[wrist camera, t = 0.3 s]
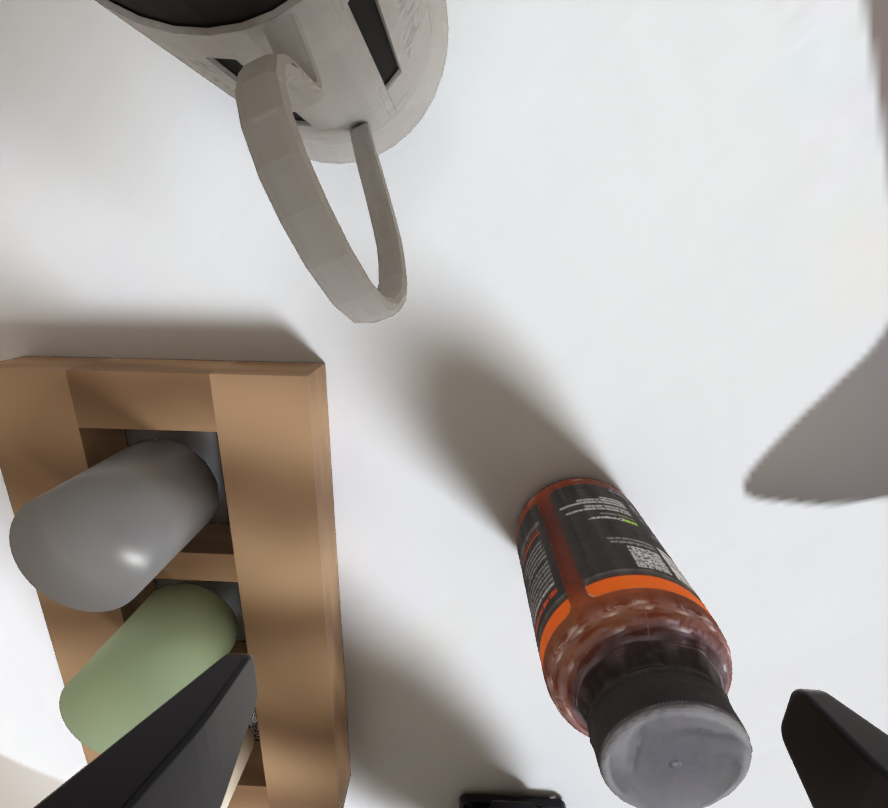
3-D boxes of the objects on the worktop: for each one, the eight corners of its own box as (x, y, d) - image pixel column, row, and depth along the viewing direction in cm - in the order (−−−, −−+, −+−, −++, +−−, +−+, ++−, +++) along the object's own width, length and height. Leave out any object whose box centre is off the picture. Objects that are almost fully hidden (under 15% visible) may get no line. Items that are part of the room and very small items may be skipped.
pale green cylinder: (243, 663, 24) (187, 764, 19) (152, 658, 24) (74, 758, 19) (232, 585, 22) (168, 673, 18) (135, 581, 23) (46, 667, 18)
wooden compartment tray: (350, 775, 29) (340, 822, 26) (130, 762, 29) (100, 807, 27) (324, 363, 21) (306, 376, 19) (25, 355, 21) (-29, 367, 19)
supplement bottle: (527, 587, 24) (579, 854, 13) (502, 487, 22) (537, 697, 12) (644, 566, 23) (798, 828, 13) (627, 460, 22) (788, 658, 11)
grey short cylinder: (224, 536, 22) (156, 614, 17) (124, 532, 22) (28, 609, 17) (211, 440, 20) (132, 496, 15) (103, 437, 20) (-8, 491, 16)
